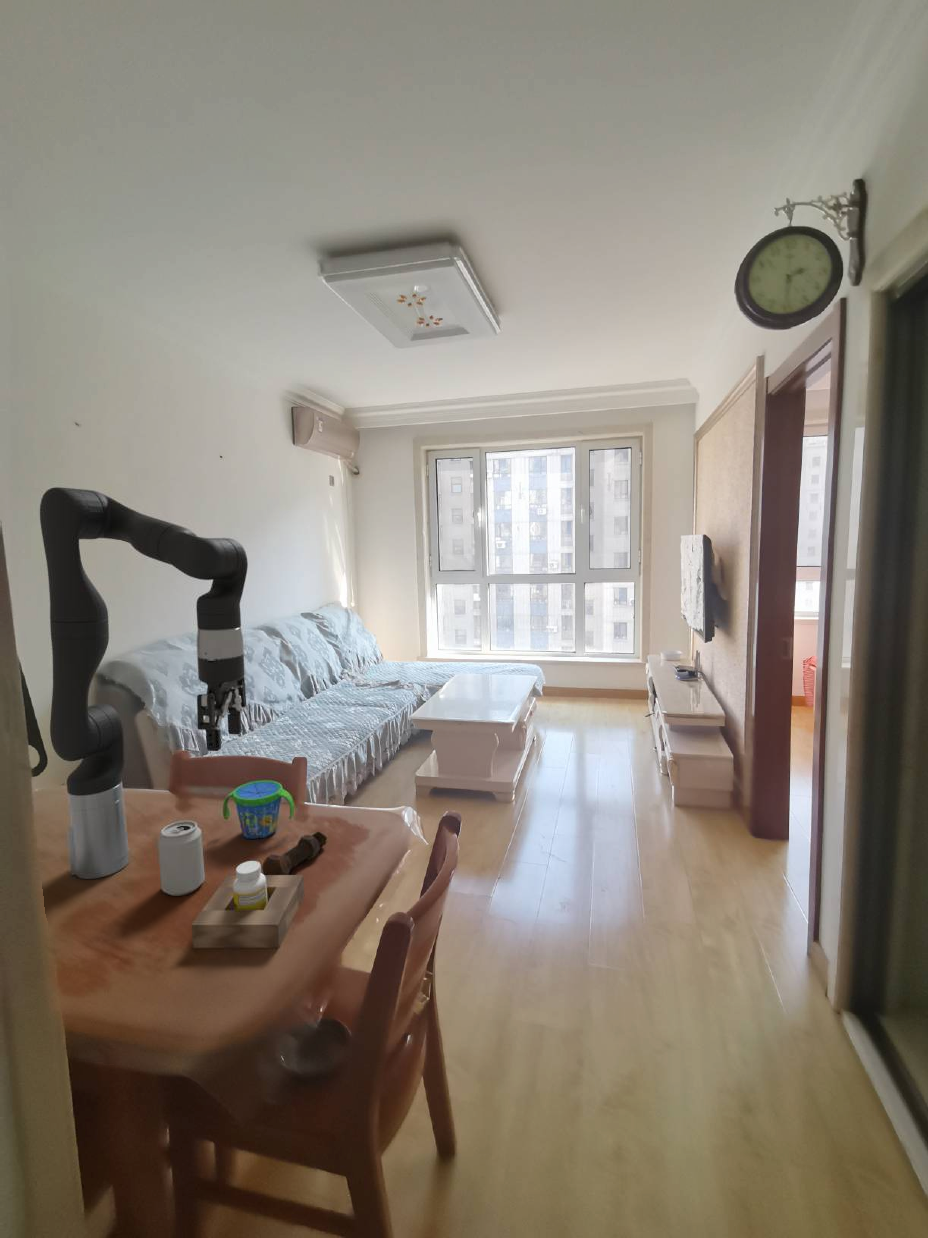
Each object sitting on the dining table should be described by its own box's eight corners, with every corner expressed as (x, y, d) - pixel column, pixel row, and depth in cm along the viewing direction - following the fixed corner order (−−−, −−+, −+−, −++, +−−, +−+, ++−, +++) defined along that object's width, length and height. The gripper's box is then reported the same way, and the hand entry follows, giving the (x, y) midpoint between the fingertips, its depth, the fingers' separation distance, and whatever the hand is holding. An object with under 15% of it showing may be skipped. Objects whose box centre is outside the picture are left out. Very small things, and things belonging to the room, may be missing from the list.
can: (214, 879, 113) (209, 821, 111) (184, 901, 106) (179, 839, 104) (183, 872, 115) (179, 815, 114) (152, 894, 108) (147, 833, 107)
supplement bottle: (240, 911, 103) (237, 859, 102) (271, 909, 103) (268, 857, 102) (231, 931, 98) (227, 876, 96) (264, 928, 98) (260, 874, 97)
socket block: (193, 948, 94) (191, 925, 93) (229, 895, 107) (227, 875, 107) (279, 947, 93) (277, 924, 93) (304, 895, 107) (303, 875, 107)
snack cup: (302, 822, 136) (300, 780, 134) (283, 845, 125) (280, 800, 124) (239, 819, 137) (236, 778, 136) (215, 842, 127) (212, 798, 126)
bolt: (325, 855, 125) (276, 891, 111) (308, 840, 126) (258, 874, 113) (335, 835, 123) (287, 869, 109) (318, 820, 125) (268, 852, 111)
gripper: (217, 645, 109) (221, 728, 111) (178, 660, 95) (184, 756, 97) (257, 645, 109) (260, 729, 111) (224, 661, 94) (228, 757, 97)
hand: (224, 741), depth 104 cm, fingers open, 8 cm apart
